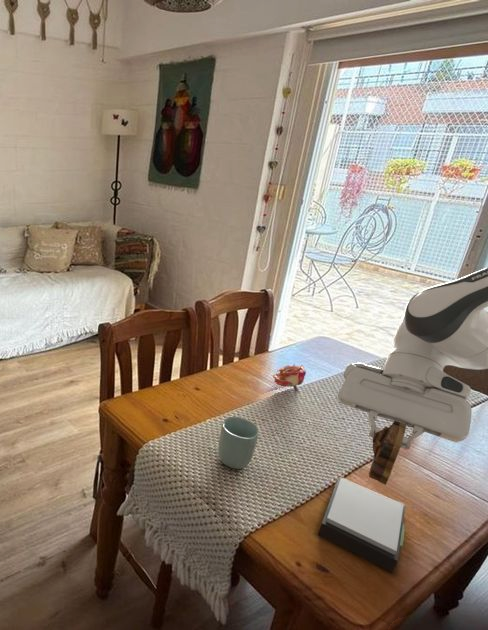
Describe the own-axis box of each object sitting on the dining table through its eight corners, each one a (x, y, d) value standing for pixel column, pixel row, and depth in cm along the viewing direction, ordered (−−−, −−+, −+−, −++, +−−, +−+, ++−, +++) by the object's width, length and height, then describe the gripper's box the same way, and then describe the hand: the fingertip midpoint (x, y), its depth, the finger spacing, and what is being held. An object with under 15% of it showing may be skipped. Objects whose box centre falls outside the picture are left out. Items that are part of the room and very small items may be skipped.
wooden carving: (371, 446, 89) (378, 403, 86) (398, 454, 87) (407, 409, 84) (362, 494, 77) (371, 445, 74) (394, 504, 74) (405, 454, 71)
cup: (246, 479, 98) (255, 443, 94) (211, 465, 101) (218, 430, 97) (253, 459, 104) (261, 424, 100) (220, 446, 107) (227, 412, 103)
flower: (315, 385, 132) (305, 359, 133) (307, 391, 125) (297, 364, 126) (283, 391, 138) (274, 367, 139) (273, 398, 131) (264, 372, 132)
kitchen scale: (403, 518, 89) (410, 503, 87) (395, 574, 77) (403, 558, 76) (334, 487, 96) (339, 473, 94) (317, 534, 84) (323, 519, 83)
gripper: (350, 353, 89) (327, 415, 86) (482, 391, 77) (462, 464, 74) (348, 365, 94) (326, 423, 91) (472, 401, 82) (452, 470, 79)
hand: (388, 442), depth 82 cm, fingers closed on wooden carving, 3 cm apart
